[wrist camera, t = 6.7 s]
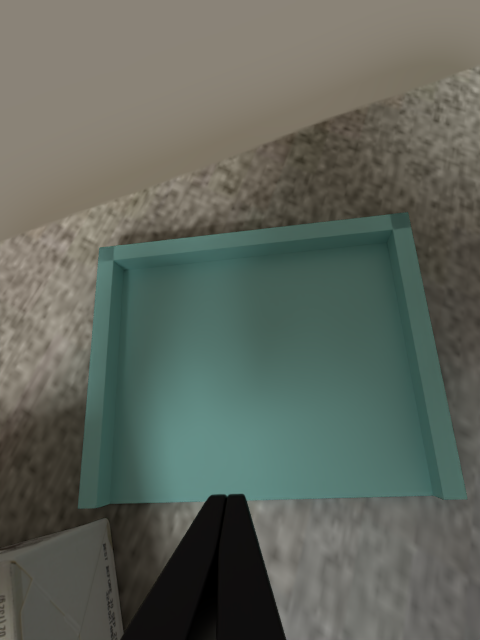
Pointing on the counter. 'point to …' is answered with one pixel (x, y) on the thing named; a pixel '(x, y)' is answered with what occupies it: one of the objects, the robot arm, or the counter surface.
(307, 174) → the counter surface
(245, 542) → the robot arm
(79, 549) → the coffee box
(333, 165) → the counter surface
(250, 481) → the tray
